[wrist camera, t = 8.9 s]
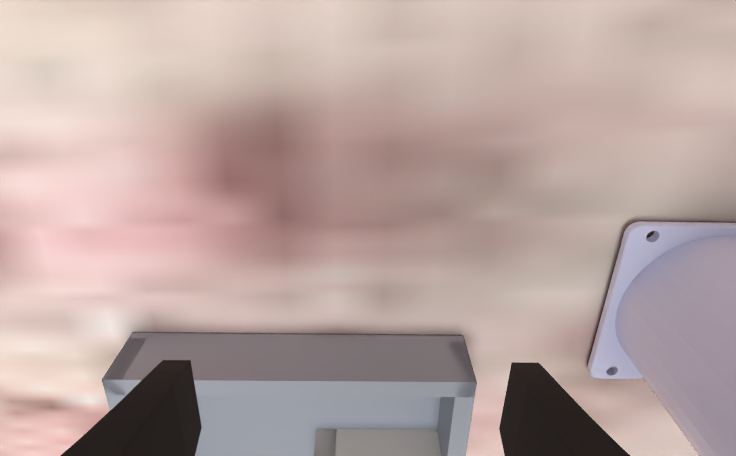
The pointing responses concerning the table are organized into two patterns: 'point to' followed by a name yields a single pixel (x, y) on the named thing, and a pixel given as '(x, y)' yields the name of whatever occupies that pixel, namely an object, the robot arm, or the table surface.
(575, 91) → the table surface
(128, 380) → the tray
